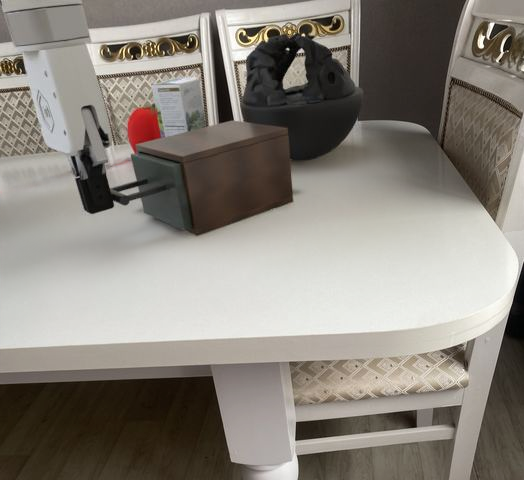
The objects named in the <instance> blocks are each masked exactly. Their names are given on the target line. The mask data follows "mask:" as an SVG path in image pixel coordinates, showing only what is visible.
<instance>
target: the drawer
mask: <svg viewBox="0 0 524 480" xmlns="http://www.w3.org/2000/svg"><path fill="white" fill-rule="evenodd" d="M130 158H131V163H132V167H133V171H134V176H135V180H134V181H131V182H127V183H123V184H119V185H117V186H114V187H110V191H111V195H112V198H113V202H114V203H117V204H120V205H121V206H128V205H129V204H130V202H132V201H134V200H138V199H140V201H141V205H142V209H143V213H144V214H146V215H148V216H151V217H152V218H155V219H157V220H160V221H163V222H164V223H166V224H168V225H171V226H173V227H175V228H176V229H177V228H178V229H179V230H182V231H184V232H187V230H190V229H193V225H192V219H191V214H190V209H189V204H188V198H187V193H186V188H185V182H184V177H183V172H182V166H181V162H177V161H173V160H169V159H166V158H162V157H158V156H155V155H151V156H150V155H146V154H142V153H139V152H138V153H134V152H133V153H131V154H130ZM137 187H138V191H137V192H133V193H130V194H124V193H122V192H123V191H127V190H130V189H134V188H137Z"/></svg>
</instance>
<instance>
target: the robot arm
mask: <svg viewBox="0 0 524 480" xmlns="http://www.w3.org/2000/svg"><path fill="white" fill-rule="evenodd" d="M0 7H1V9H2V12H3V15H4V19H5V22H6V26H7V28H8V32H9V35H10V38H11V41H12V44H13V46H14V51H15V53H18V54H19V53H22V61H23V64H24V65H23V66H24V69H25V74H26V78H27V83H28V87H29V91H30V94H31V99H32V102H33V106H34V110H35V113H36V117H37V121H38V125H39V128H40V131H41V135H42V139H43V141H44V143H45V145H46V146H47V147H48V148H49V149H51V150H54V151H57V152H59V153H62V154H64V155H66V157H67V160H68V163H69V166H70V168H71V171H72V175H73V176H74V177H75V178H74V180H75V183H76V184H75V185H76V188H77V190H78V194H79V197H80V201H81V204H82V206H83V210H84V211H85V212H86V213H88V214H90V215H95V214H97V213H101V212H104V211H107V210H112V209H113V208H115V201H113V198H112V195H111V191H110V188H111V187H110V184H109V179H108V176H107V169H106V164H107V163H108V162H109V160H108V156H107V152H106V149H109V148H110V146H111V145H112V143H113V134H112V129H111V124H110V120H109V115H108V111H107V108H106V104H105V101H104V97H103V93H102V89H101V86H100V82H99V80H98V77H97V72H96V70H95V67H94V64H93V60H92V58H91V54H90V52H89V49H88V46H87V44H92V38H91V35H90V34H91V33H90V30H89V26H88V22H87V17H86V14H85V9H84V6H83V1H82V0H0Z"/></svg>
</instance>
